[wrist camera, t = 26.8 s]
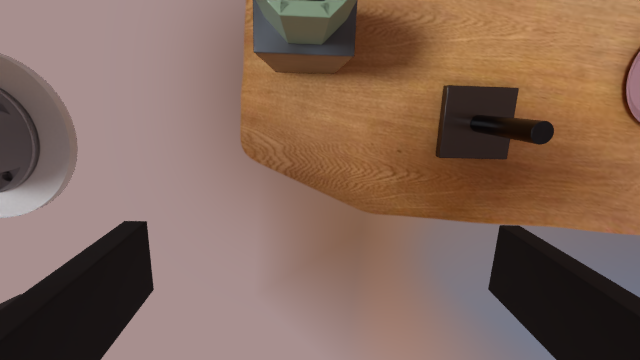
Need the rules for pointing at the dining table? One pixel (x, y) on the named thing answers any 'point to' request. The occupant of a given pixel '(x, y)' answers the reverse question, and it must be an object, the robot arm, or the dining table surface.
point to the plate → (634, 88)
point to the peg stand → (484, 123)
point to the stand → (303, 47)
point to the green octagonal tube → (306, 18)
